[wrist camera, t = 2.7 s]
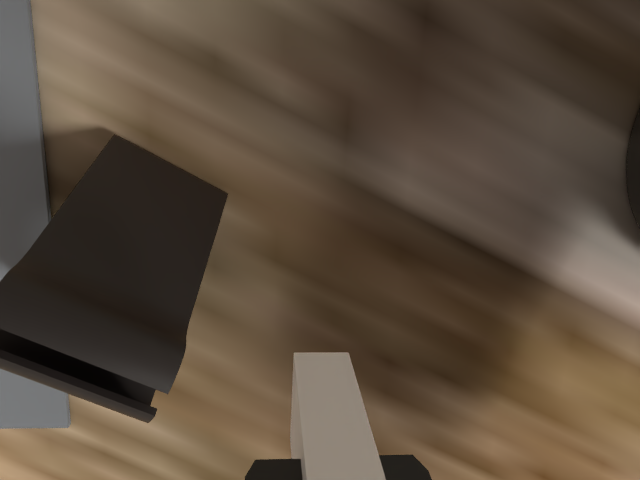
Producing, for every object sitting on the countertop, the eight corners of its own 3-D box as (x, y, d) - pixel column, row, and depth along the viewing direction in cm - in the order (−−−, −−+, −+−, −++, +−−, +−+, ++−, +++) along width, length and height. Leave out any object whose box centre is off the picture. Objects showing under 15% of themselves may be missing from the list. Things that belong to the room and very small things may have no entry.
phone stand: (116, 132, 26) (33, 199, 15) (229, 192, 28) (230, 293, 17) (38, 286, 28) (-88, 447, 17) (148, 333, 30) (100, 507, 19)
